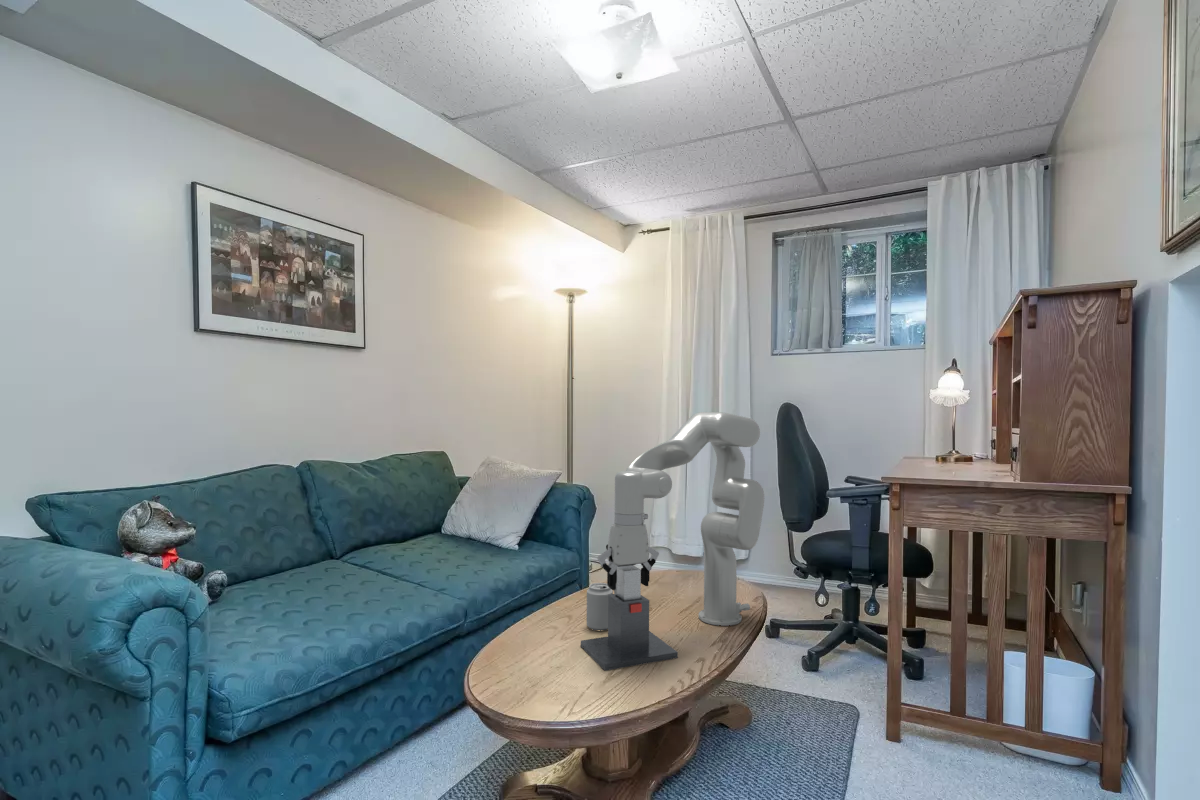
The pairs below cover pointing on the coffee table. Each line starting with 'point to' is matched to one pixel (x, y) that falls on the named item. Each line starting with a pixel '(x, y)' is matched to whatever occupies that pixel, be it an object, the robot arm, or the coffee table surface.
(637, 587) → the column
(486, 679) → the coffee table surface
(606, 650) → the stand housing
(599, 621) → the can
